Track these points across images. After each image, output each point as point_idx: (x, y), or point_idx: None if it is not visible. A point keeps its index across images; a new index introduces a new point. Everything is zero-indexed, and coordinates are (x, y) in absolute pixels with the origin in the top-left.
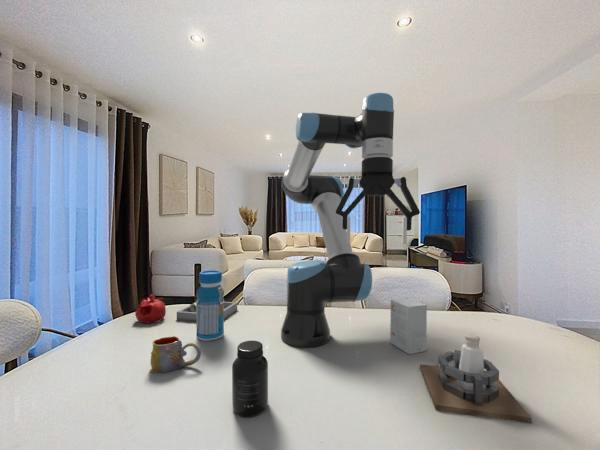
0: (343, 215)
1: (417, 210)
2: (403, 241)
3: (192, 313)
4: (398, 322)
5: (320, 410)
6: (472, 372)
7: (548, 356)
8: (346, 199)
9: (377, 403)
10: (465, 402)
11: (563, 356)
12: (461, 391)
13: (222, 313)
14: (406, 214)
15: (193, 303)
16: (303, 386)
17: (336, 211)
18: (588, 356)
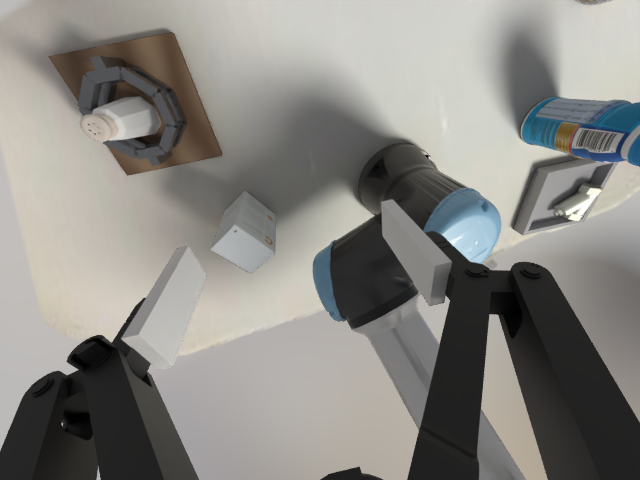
0: (479, 264)
1: (31, 400)
2: (184, 252)
3: (592, 163)
4: (259, 221)
5: None
6: (121, 101)
7: (81, 261)
8: (556, 366)
9: (252, 13)
10: (136, 60)
11: (66, 269)
12: (139, 70)
13: (555, 134)
14: (115, 357)
15: (601, 189)
16: (365, 15)
17: (542, 270)
18: (40, 281)
